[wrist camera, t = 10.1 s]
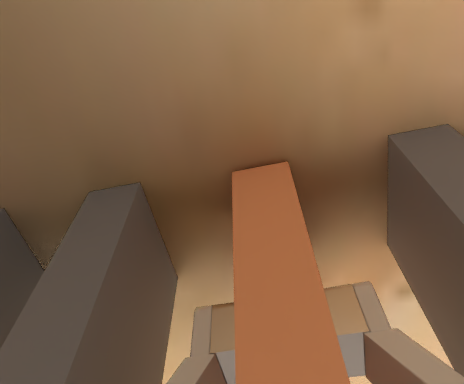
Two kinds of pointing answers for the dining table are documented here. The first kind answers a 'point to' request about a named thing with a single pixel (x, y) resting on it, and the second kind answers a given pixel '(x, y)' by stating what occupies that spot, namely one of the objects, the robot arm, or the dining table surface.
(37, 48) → the dining table surface
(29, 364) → the domino
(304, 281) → the domino
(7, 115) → the dining table surface
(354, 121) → the dining table surface
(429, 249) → the domino
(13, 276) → the domino
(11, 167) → the dining table surface
